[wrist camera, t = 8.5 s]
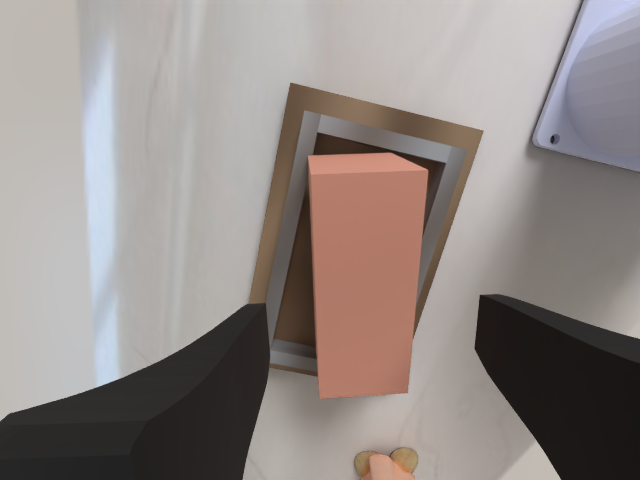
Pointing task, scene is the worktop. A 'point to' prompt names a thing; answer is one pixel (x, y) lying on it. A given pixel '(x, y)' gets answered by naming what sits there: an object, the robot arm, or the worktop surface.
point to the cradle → (294, 203)
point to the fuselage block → (365, 269)
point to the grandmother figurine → (387, 465)
